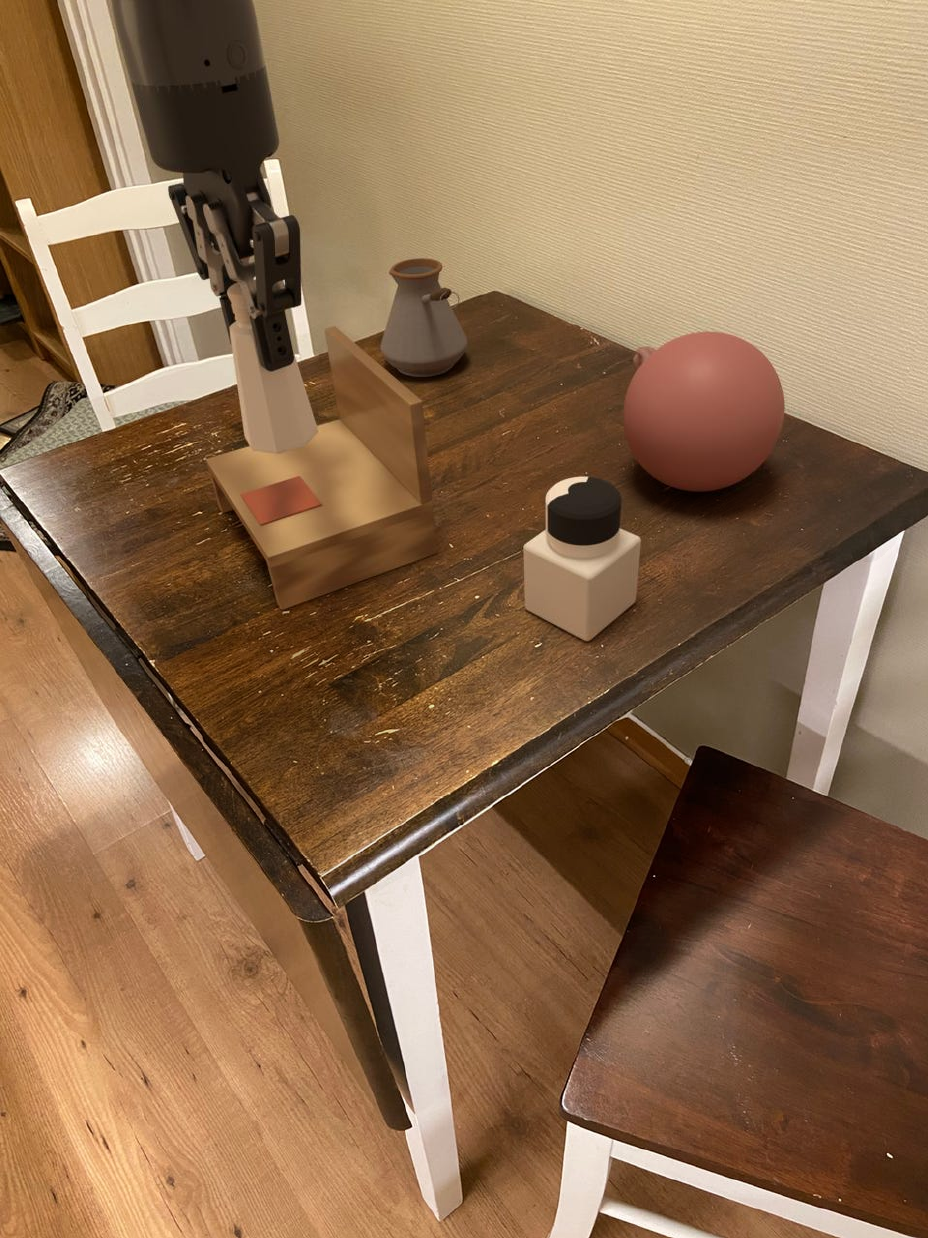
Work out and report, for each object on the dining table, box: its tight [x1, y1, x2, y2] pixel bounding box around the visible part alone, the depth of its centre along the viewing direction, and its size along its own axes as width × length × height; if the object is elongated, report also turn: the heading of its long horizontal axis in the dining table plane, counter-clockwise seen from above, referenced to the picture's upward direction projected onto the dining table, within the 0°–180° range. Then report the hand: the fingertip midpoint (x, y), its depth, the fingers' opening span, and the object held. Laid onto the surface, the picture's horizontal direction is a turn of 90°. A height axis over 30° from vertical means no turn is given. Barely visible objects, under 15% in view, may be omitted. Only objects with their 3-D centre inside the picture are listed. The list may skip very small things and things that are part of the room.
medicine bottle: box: [523, 476, 642, 642], centre depth 74 cm, size 7×7×12 cm
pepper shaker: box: [227, 278, 318, 454], centre depth 61 cm, size 5×5×11 cm
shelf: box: [205, 325, 439, 611], centre depth 84 cm, size 16×20×16 cm
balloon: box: [622, 331, 786, 493], centre depth 89 cm, size 15×20×15 cm
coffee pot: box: [379, 257, 468, 378], centre depth 109 cm, size 21×12×15 cm, turn 17°
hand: (263, 355), depth 60 cm, fingers closed on pepper shaker, 4 cm apart
